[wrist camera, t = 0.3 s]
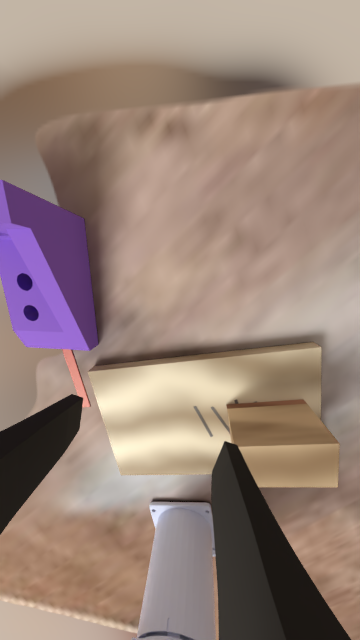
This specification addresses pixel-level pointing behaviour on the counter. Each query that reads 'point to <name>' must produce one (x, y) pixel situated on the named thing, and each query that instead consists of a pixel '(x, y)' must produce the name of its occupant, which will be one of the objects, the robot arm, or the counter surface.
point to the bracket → (45, 272)
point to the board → (195, 402)
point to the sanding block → (284, 444)
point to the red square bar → (76, 376)
